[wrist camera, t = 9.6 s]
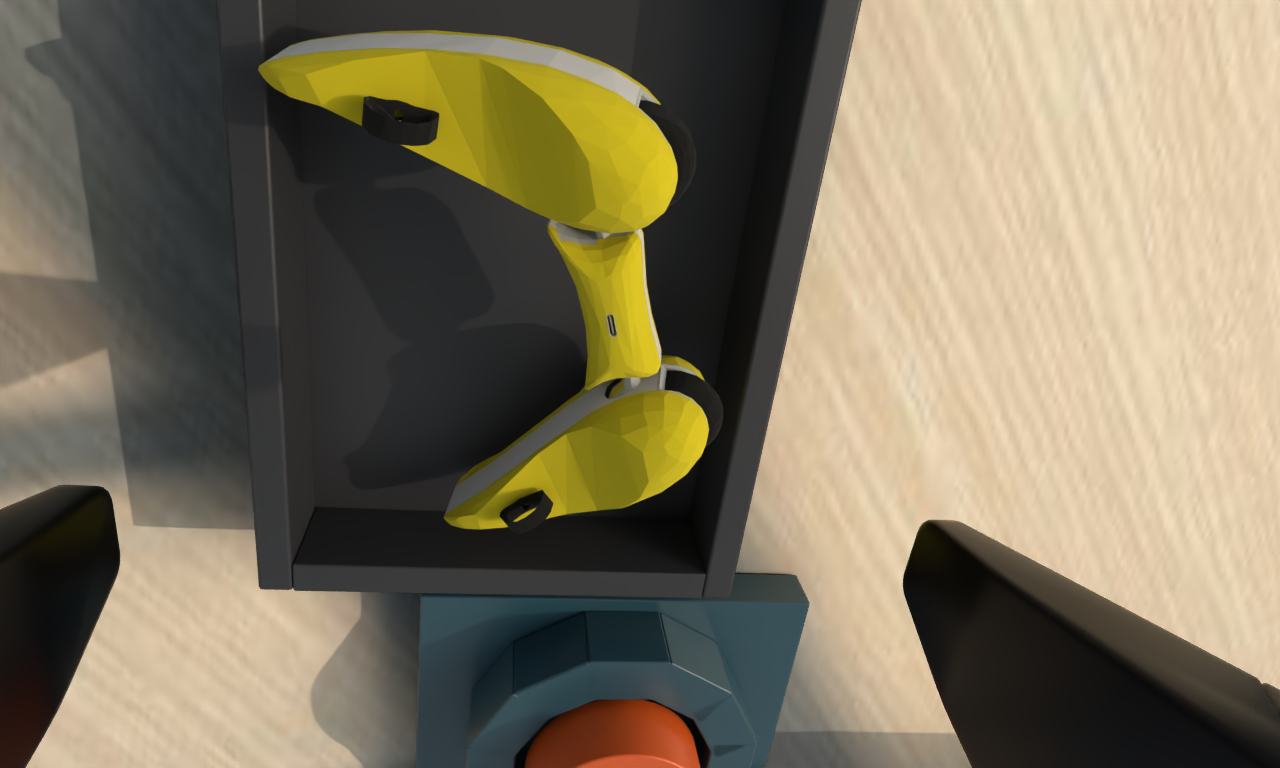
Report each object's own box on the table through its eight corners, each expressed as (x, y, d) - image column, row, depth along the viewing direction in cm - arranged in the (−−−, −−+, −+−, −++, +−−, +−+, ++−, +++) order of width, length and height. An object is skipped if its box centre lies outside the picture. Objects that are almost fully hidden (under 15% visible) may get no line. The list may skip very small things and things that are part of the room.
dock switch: (796, 574, 22) (834, 651, 20) (743, 778, 26) (770, 869, 23) (425, 565, 21) (411, 649, 18) (418, 785, 24) (405, 885, 21)
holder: (830, -90, 16) (887, -108, 13) (706, 532, 21) (730, 599, 19) (254, -193, 14) (197, -235, 11) (290, 518, 20) (258, 591, 17)
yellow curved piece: (732, 430, 19) (733, 544, 16) (474, 445, 20) (434, 555, 17) (684, -36, 13) (673, 18, 10) (321, 18, 14) (222, 80, 11)
